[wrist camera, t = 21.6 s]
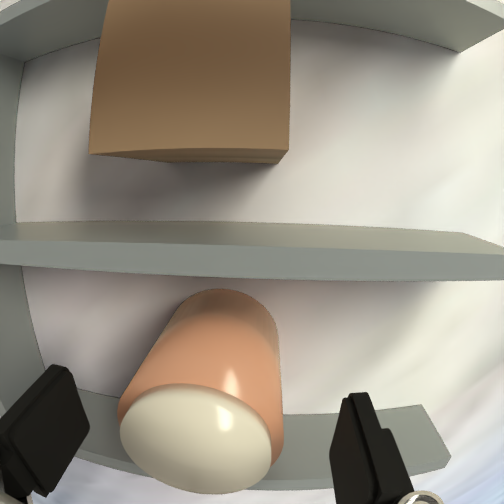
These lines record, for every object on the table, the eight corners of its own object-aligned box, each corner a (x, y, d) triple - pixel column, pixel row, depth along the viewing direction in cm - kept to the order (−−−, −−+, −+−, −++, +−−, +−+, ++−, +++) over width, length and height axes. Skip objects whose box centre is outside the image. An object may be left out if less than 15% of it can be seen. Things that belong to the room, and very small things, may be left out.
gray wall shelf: (16, 52, 12) (-36, 34, 7) (457, 37, 11) (508, 6, 6) (42, 388, 18) (6, 427, 13) (417, 415, 17) (444, 467, 12)
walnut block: (173, 62, 13) (110, -8, 6) (280, 60, 13) (289, -25, 6) (167, 162, 14) (88, 154, 7) (277, 163, 14) (288, 149, 7)
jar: (166, 285, 15) (90, 373, 8) (281, 290, 15) (293, 395, 7) (174, 379, 16) (129, 484, 9) (275, 385, 16) (277, 503, 9)
